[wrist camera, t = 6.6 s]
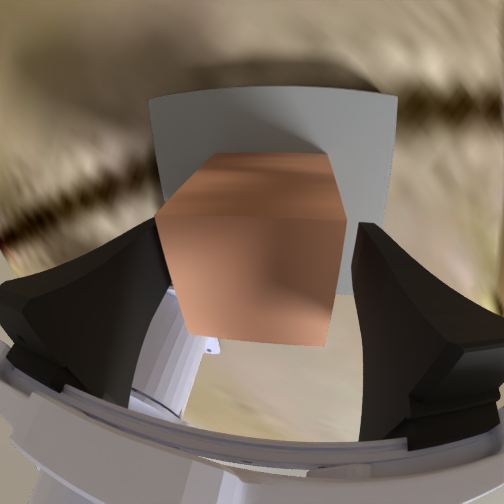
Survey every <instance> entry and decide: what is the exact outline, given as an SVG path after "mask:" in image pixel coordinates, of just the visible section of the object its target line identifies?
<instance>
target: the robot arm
mask: <svg viewBox="0 0 504 504" xmlns="http://www.w3.org/2000/svg"><path fill="white" fill-rule="evenodd" d="M351 275H352V288H353V293H354V298H355V304H356V309H357V314H358V319H359V325H360V331H361V337H362V346H363V401H362V416H361V425H360V434H359V442H294V441H280V440H268V439H259V438H251V437H243V436H236V435H230V434H224V433H218V432H213V431H208V430H203V429H198V428H194V427H189V426H188V423H187V422H185V421H183V420H182V417H183V414H184V411H185V408H186V404H187V401H188V398H189V395H190V392H191V389H192V386H193V383H194V380H195V377H196V374H197V371H198V368H199V365H200V362H201V359H202V356H203V353H204V352H205V353H212V354H219V353H220V345H219V341H218V338H214V337H206V336H199V335H192V334H189V333H188V330H187V327H186V324H185V321H184V318H183V315H182V312H181V309H180V306H179V303H178V299H177V296H176V293H175V290H174V287H173V286H170V284H171V282H172V280H171V277H170V273H169V270H168V266H167V263H166V259H165V256H164V252H163V248H162V244H161V241H160V237H159V233H158V229H157V225H156V221H155V217H153V218H151V219H149V220H147V221H145V222H143V223H141V224H139V225H138V226H136V227H134V228H132V229H131V230H129V231H127V232H125V233H124V234H122V235H120V236H118V237H117V238H115V239H113V240H111V241H109V242H108V243H106V244H104V245H102V246H101V247H99V248H97V249H95V250H93V251H91V252H89V253H87V254H85V255H83V256H81V257H78V258H76V259H74V260H72V261H69V262H67V263H64V264H62V265H59V266H57V267H54V268H52V269H49V270H46V271H43V272H40V273H36V274H33V275H29V276H26V277H21V278H17V279H13V280H9V281H5V282H4V283H2V284H1V285H0V325H1V326H2V328H3V329H4V330H5V332H6V333H7V334H8V336H9V337H10V338H11V340H13V342H14V345H13V346H12V348H10V347H9V346H8V345H7V344H6V343H4V342H3V341H1V340H0V416H1V417H2V418H3V419H4V420H5V421H6V422H7V423H8V424H9V425H10V426H11V427H12V428H13V431H12V434H11V436H10V439H11V442H12V444H13V445H14V446H15V447H16V448H17V449H18V450H19V451H20V452H21V453H22V454H23V455H24V456H26V457H27V458H28V459H29V460H30V461H32V462H33V463H34V464H35V466H36V468H37V470H38V471H39V473H38V476H37V479H36V481H35V484H34V487H33V490H32V493H31V495H30V498H29V501H28V504H467V503H469V502H471V501H473V500H475V499H477V498H480V497H482V496H484V495H486V494H488V493H490V492H492V491H494V490H496V489H498V488H499V487H501V486H503V485H504V406H503V407H502V408H500V409H497V405H496V401H498V400H499V399H500V396H501V395H500V392H499V387H500V386H501V385H502V384H503V383H504V317H501V316H499V315H497V314H495V313H493V312H491V311H489V310H487V309H485V308H483V307H482V306H480V305H478V304H476V303H474V302H473V301H471V300H469V299H468V298H466V297H464V296H463V295H461V294H460V293H458V292H457V291H455V290H454V289H452V288H450V287H449V286H448V285H446V284H445V283H443V282H442V281H441V280H439V279H438V278H437V277H435V276H434V275H433V274H431V273H430V272H429V271H428V270H426V269H425V268H424V267H423V266H422V265H420V264H419V263H418V262H417V261H416V260H415V259H413V258H412V257H411V256H410V255H409V254H408V253H407V252H406V251H405V250H403V249H402V248H401V247H400V246H399V245H398V244H397V243H396V242H395V241H394V240H393V239H392V238H391V237H390V236H389V235H388V234H386V233H385V232H384V231H383V230H382V229H381V228H380V227H379V226H378V225H376V224H375V223H369V222H359V223H358V229H357V235H356V241H355V247H354V252H353V257H352V263H351ZM199 456H201V457H206V458H211V459H216V460H221V461H227V462H233V463H239V464H246V465H253V466H262V467H271V468H283V469H303V470H309V471H308V472H307V476H306V477H296V476H286V475H278V474H270V473H264V472H257V471H252V470H246V469H241V468H235V467H231V466H226V465H222V464H219V463H216V462H213V461H210V460H207V459H204V458H201V457H199Z"/></svg>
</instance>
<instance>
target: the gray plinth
mask: <svg viewBox="0 0 504 504" xmlns="http://www.w3.org/2000/svg"><path fill="white" fill-rule="evenodd" d="M397 101H398V97H397V96H393V95H388V94H384V93H379V92H372V91H364V90H356V89H346V88H335V87H320V86H295V85H268V86H242V87H227V88H216V89H206V90H198V91H190V92H183V93H176V94H170V95H165V96H161V97H156V98H152V99H148V106H149V114H150V121H151V128H152V135H153V141H154V147H155V154H156V159H157V165H158V171H159V176H160V182H161V187H162V192H163V197H164V202H165V203H166V202H167V201H168V200H169V199H170V198H171V197H172V196H173V194H174V193H175V192H176V191H177V190H178V189H179V188H180V187H181V186H182V185H183V184H184V183H185V182H186V181H187V180H188V179H189V178H190V177H191V176H192V175H193V174H194V173H195V172H196V171H197V170H198V169H199V168H200V167H201V166H202V165H203V164H204V163H205V162H206V161H207V160H208V159H209V158H210V157H211V156H212V155H213V154H214V153H241V152H288V153H316V154H328V157H329V160H330V164H331V167H332V170H333V173H334V176H335V179H336V183H337V186H338V190H339V193H340V196H341V200H342V203H343V207H344V211H345V214H346V218H347V226H346V233H345V240H344V247H343V254H342V260H341V266H340V272H339V278H338V283H337V289H336V294H340V295H354V293H353V288H352V275H351V263H352V257H353V252H354V247H355V241H356V235H357V229H358V223H359V222H369V223H375V224H376V225H378V226H379V227H380V228H381V227H382V222H383V217H384V211H385V206H386V200H387V194H388V188H389V181H390V175H391V167H392V159H393V151H394V141H395V131H396V118H397Z"/></svg>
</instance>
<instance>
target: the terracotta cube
mask: <svg viewBox="0 0 504 504" xmlns="http://www.w3.org/2000/svg"><path fill="white" fill-rule="evenodd" d="M154 217H155V221H156V225H157V229H158V233H159V237H160V241H161V244H162V248H163V252H164V256H165V259H166V263H167V266H168V270H169V273H170V277H171V280H172V283H173V287H174V290H175V293H176V296H177V299H178V303H179V306H180V309H181V312H182V315H183V318H184V321H185V324H186V327H187V330H188V333H189V334H192V335H199V336H206V337H214V338H222V339H230V340H240V341H250V342H261V343H273V344H287V345H304V346H325V341H326V337H327V333H328V328H329V324H330V319H331V314H332V309H333V304H334V299H335V294H336V289H337V283H338V278H339V272H340V266H341V260H342V254H343V247H344V240H345V233H346V226H347V218H346V214H345V211H344V207H343V203H342V200H341V196H340V193H339V190H338V186H337V183H336V179H335V176H334V173H333V170H332V167H331V164H330V160H329V157H328V154H316V153H288V152H241V153H214V154H213V155H212V156H211V157H210V158H209V159H208V160H207V161H206V162H205V163H204V164H203V165H202V166H201V167H200V168H199V169H198V170H197V171H196V172H195V173H194V174H193V175H192V176H191V177H190V178H189V179H188V180H187V181H186V182H185V183H184V184H183V185H182V186H181V187H180V188H179V189H178V190H177V191H176V192H175V193H174V194H173V196H172V197H171V198H170V199H169V200H168V201H167V202H166V203H165V204H164V205H163V206H162V207H161V208H160V210H159V211H158V212H157V213H156V214H155V215H154Z"/></svg>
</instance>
